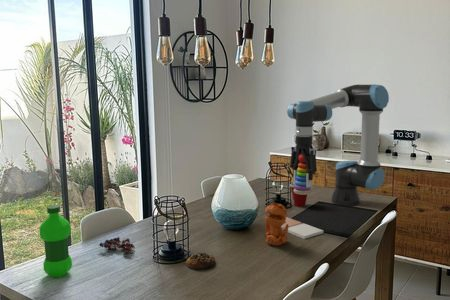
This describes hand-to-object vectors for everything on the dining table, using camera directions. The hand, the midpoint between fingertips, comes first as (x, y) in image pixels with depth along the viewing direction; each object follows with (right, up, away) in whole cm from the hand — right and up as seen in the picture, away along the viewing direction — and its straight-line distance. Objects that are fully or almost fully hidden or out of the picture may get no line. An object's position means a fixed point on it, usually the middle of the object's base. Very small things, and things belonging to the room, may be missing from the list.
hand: (302, 185), depth 198 cm
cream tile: (0, -21, -4) cm, 21 cm away
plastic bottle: (-95, -28, -44) cm, 108 cm away
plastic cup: (+5, -14, +37) cm, 40 cm away
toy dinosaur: (-14, -23, -16) cm, 32 cm away
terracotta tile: (-8, -19, +7) cm, 22 cm away
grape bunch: (-78, -25, -21) cm, 85 cm away
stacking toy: (0, -4, +1) cm, 4 cm away
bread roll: (-44, -27, -36) cm, 63 cm away
